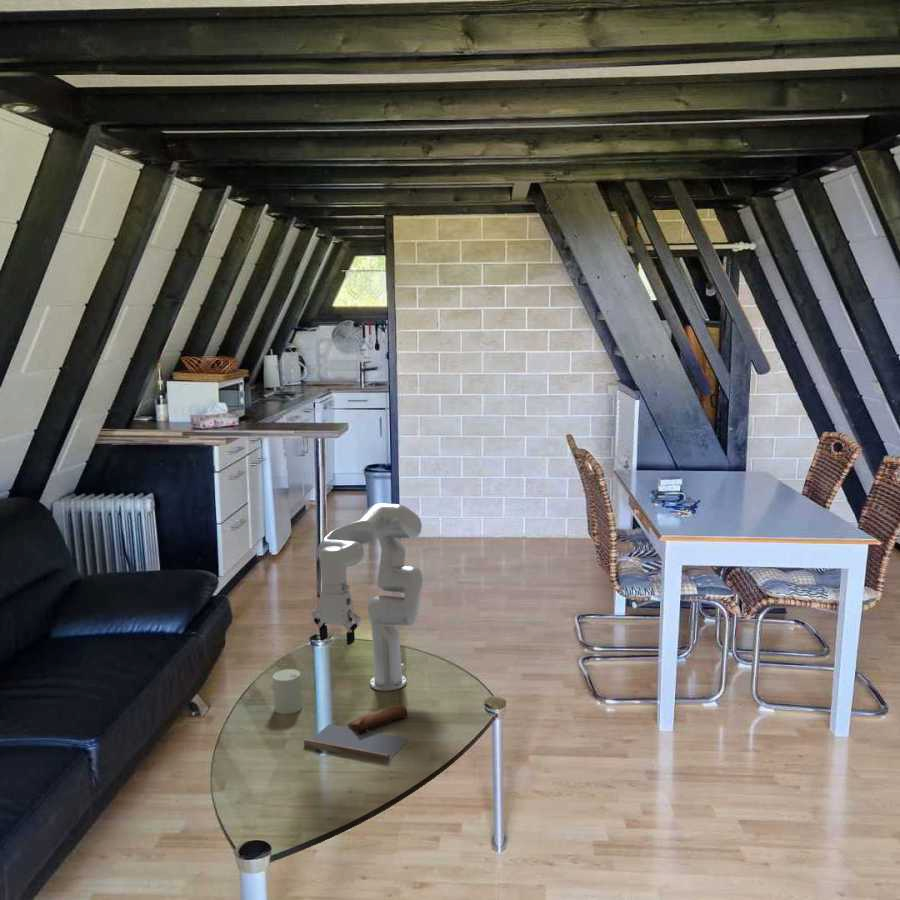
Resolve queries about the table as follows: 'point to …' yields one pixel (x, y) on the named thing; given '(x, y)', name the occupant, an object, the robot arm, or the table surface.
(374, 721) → the brown elongated rounded piece
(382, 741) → the mat
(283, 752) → the table surface
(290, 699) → the can
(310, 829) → the table surface
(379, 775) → the table surface
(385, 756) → the walnut rail
